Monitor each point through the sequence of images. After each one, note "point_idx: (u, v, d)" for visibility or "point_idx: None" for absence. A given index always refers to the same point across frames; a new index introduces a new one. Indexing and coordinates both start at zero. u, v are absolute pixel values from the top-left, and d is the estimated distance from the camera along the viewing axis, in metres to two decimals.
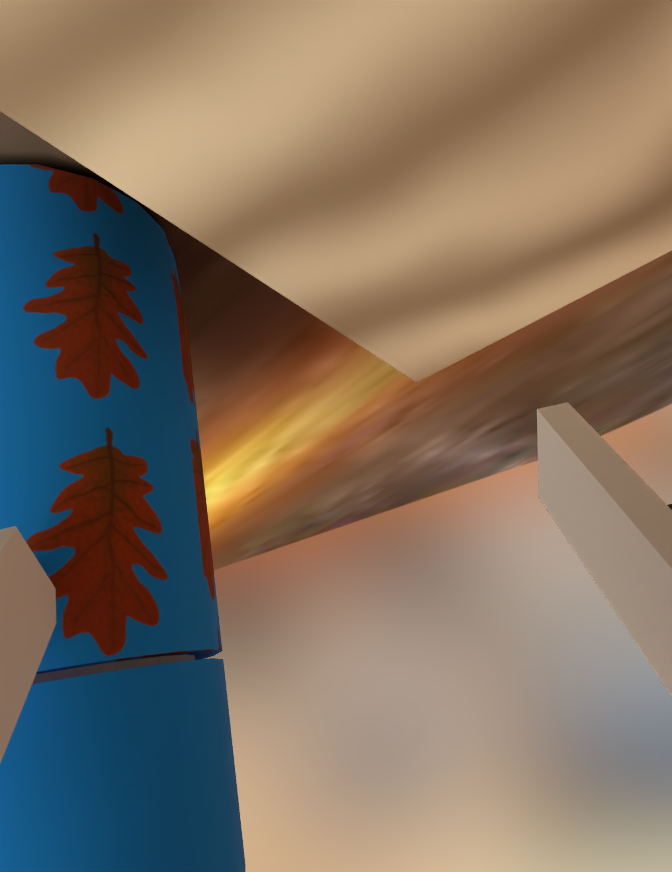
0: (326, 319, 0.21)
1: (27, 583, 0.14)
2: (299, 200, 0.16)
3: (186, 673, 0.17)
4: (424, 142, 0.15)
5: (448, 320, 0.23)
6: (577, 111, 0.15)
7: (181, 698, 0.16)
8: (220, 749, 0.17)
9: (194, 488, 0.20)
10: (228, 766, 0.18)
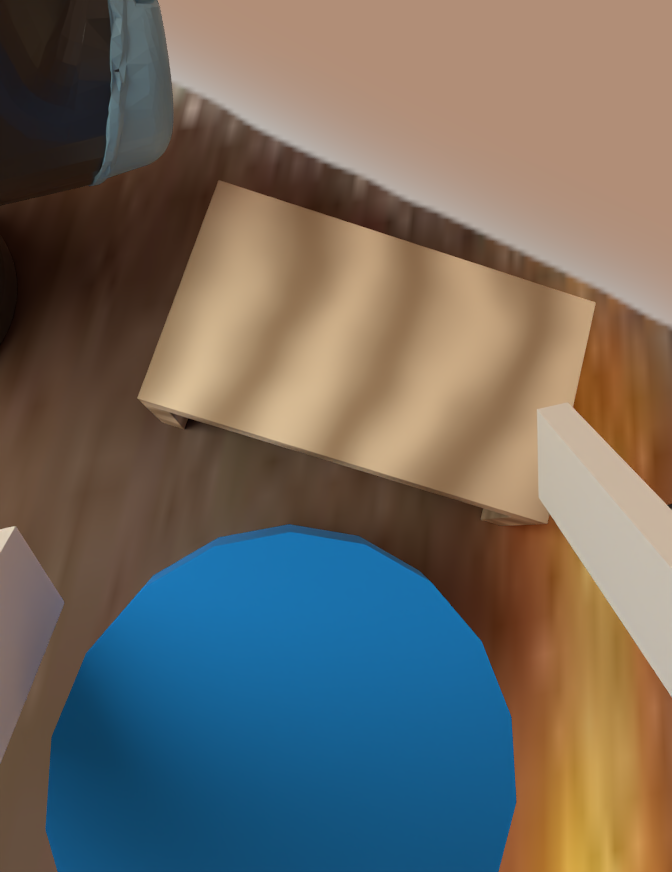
0: (425, 483, 0.33)
1: (27, 583, 0.14)
2: (355, 410, 0.33)
3: None
4: (388, 359, 0.34)
5: (506, 452, 0.33)
6: (440, 315, 0.34)
7: None
8: None
9: None
10: None
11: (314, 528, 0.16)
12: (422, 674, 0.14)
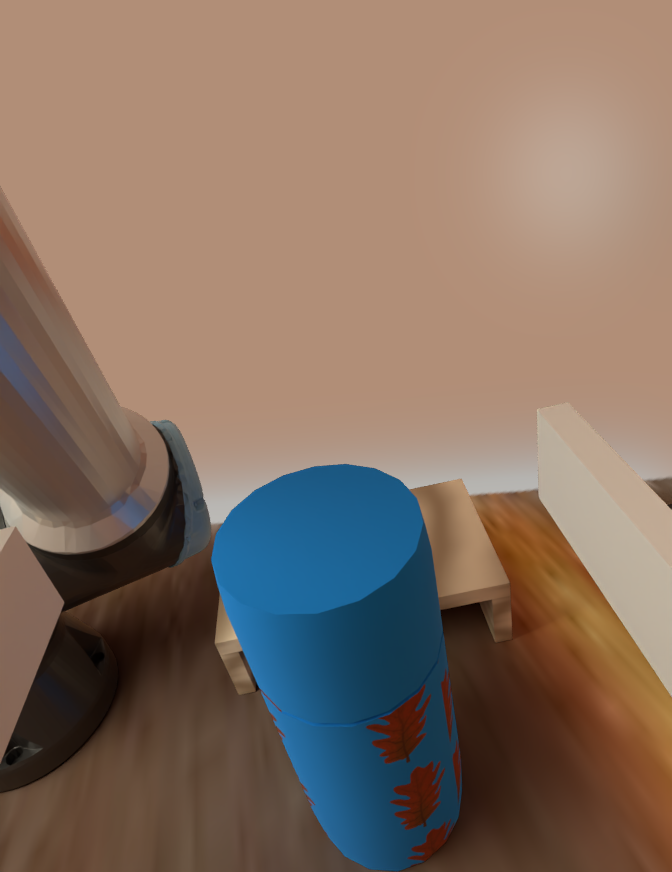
0: None
1: (27, 583, 0.14)
2: None
3: None
4: None
5: (458, 561, 0.49)
6: None
7: None
8: None
9: None
10: None
11: None
12: (356, 485, 0.31)
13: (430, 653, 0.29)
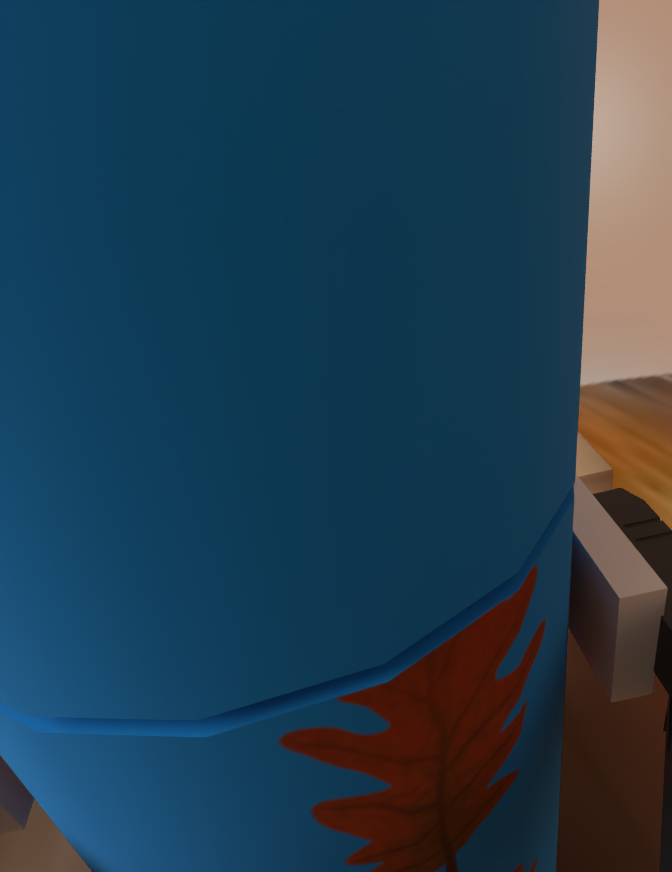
0: None
1: None
2: None
3: None
4: None
5: None
6: None
7: None
8: None
9: None
10: None
11: None
12: None
13: (565, 436, 0.07)
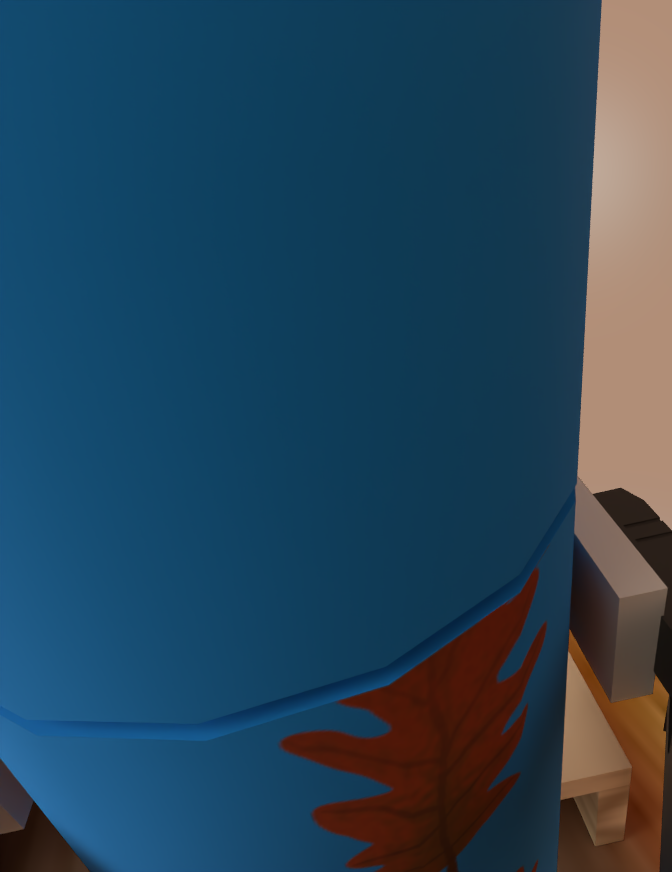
0: None
1: None
2: None
3: None
4: None
5: None
6: None
7: None
8: None
9: None
10: None
11: None
12: None
13: (566, 436, 0.07)
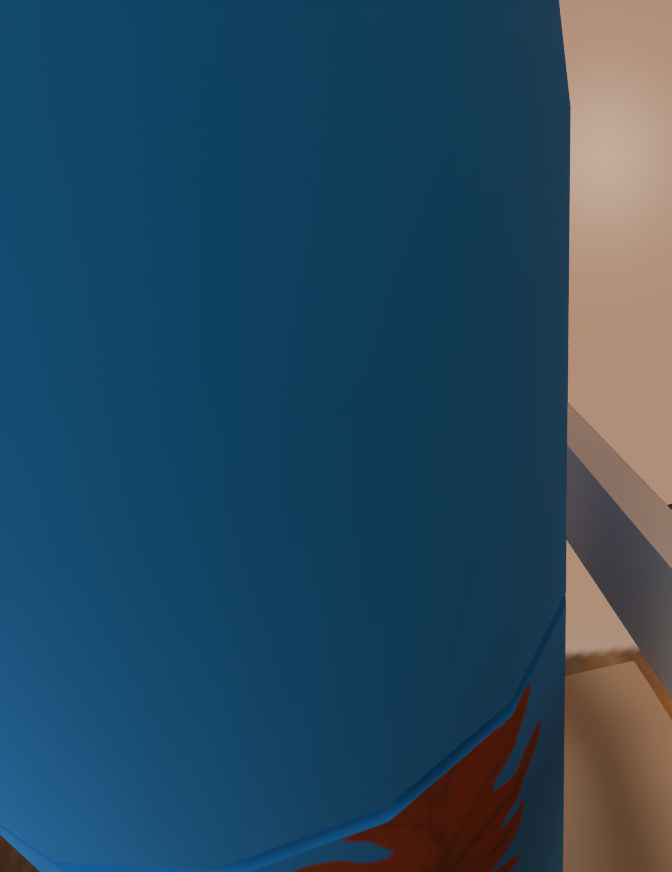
0: None
1: None
2: None
3: None
4: None
5: None
6: None
7: None
8: None
9: None
10: None
11: None
12: None
13: (554, 562, 0.07)
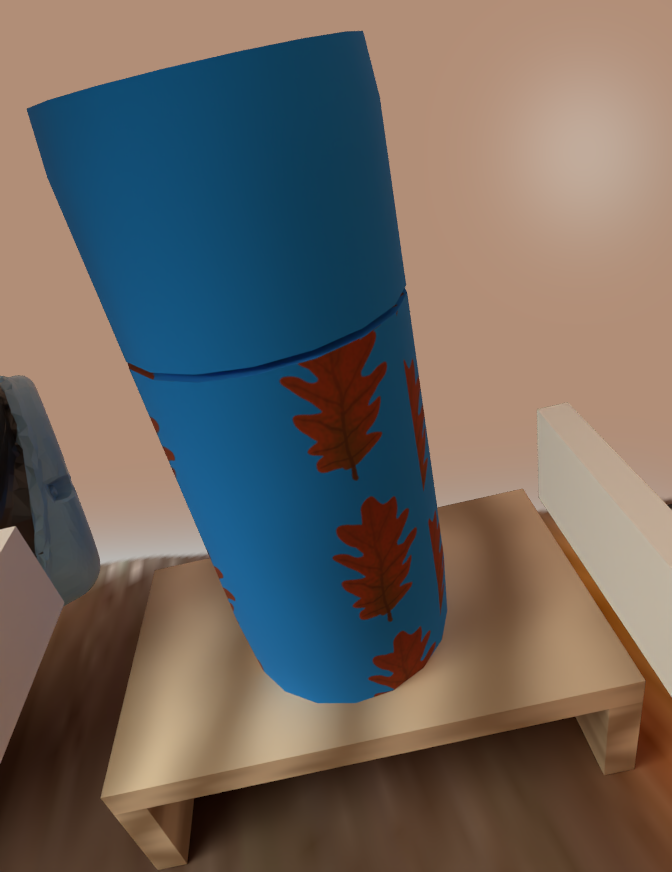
0: (476, 713, 0.25)
1: (27, 583, 0.14)
2: None
3: None
4: None
5: (539, 635, 0.28)
6: None
7: None
8: None
9: None
10: None
11: None
12: None
13: (383, 281, 0.19)
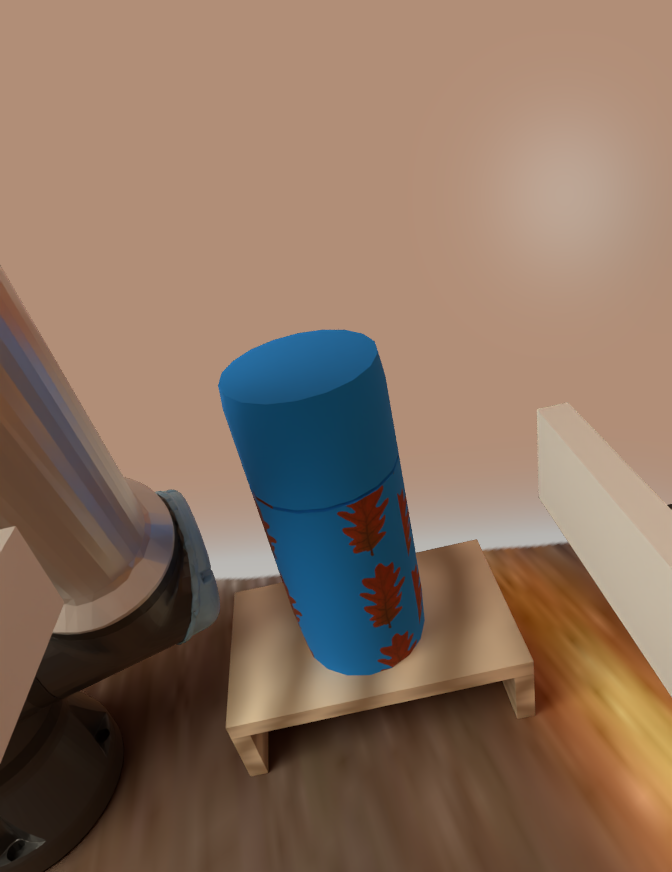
0: (438, 679, 0.44)
1: (27, 583, 0.14)
2: None
3: None
4: None
5: (478, 635, 0.47)
6: None
7: None
8: None
9: None
10: None
11: None
12: (329, 339, 0.40)
13: (387, 461, 0.38)
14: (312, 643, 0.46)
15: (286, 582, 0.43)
